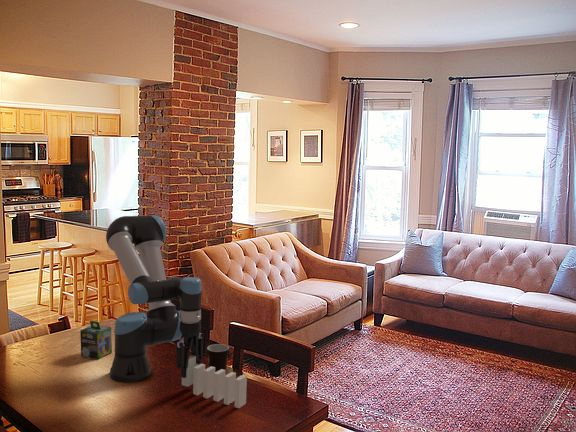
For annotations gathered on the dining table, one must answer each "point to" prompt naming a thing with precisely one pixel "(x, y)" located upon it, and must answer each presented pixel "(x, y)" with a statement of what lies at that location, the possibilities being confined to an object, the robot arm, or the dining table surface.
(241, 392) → the grey rectangular block
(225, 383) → the tile
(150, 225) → the robot arm
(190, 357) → the end tile
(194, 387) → the tile
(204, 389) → the tile
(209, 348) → the coffee mug
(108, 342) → the chalk box
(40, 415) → the dining table surface
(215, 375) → the tile
